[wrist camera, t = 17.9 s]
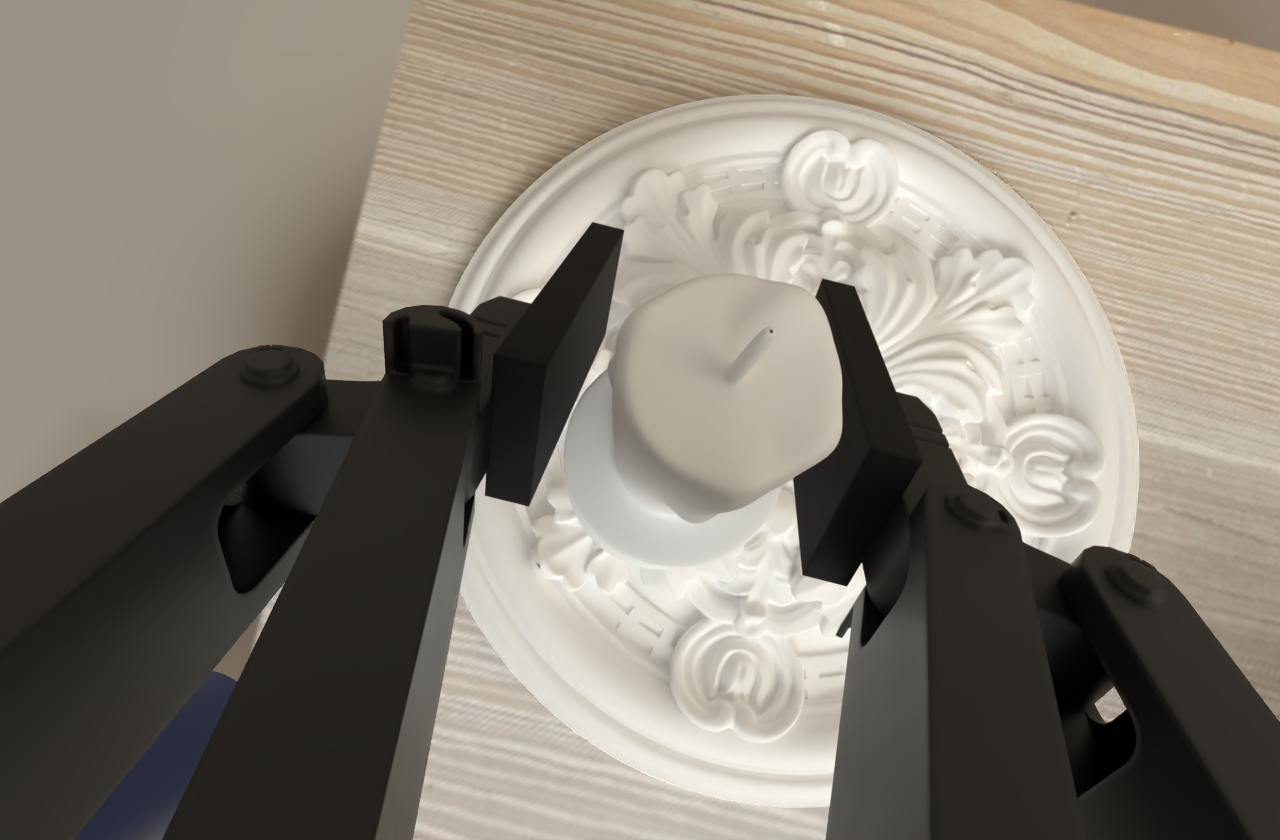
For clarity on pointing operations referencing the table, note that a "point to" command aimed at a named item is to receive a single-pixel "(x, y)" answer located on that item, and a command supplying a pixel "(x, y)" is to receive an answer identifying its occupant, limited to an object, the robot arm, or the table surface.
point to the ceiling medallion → (770, 561)
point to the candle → (703, 419)
